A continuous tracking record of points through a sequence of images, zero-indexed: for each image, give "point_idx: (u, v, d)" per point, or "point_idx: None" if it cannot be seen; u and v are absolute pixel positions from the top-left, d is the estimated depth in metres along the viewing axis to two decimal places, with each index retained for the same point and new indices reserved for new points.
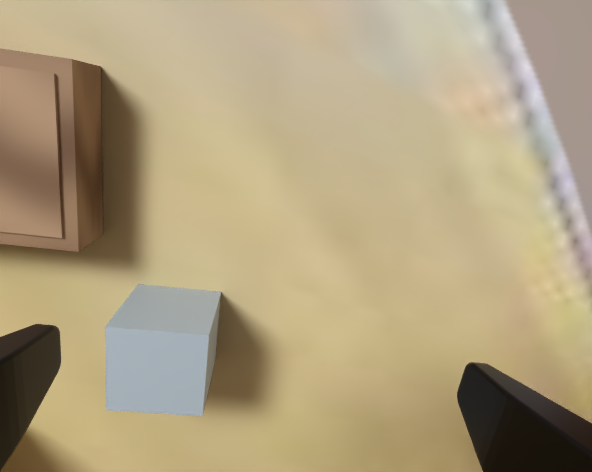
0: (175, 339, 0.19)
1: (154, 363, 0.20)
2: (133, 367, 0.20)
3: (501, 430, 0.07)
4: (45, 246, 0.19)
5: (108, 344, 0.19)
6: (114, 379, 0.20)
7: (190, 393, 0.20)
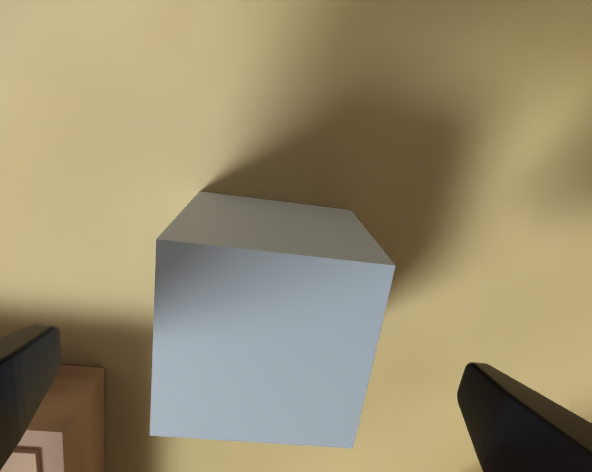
0: (171, 311, 0.08)
1: (239, 357, 0.09)
2: (247, 396, 0.09)
3: (501, 430, 0.07)
4: None
5: (191, 433, 0.09)
6: (277, 429, 0.09)
7: (324, 289, 0.08)
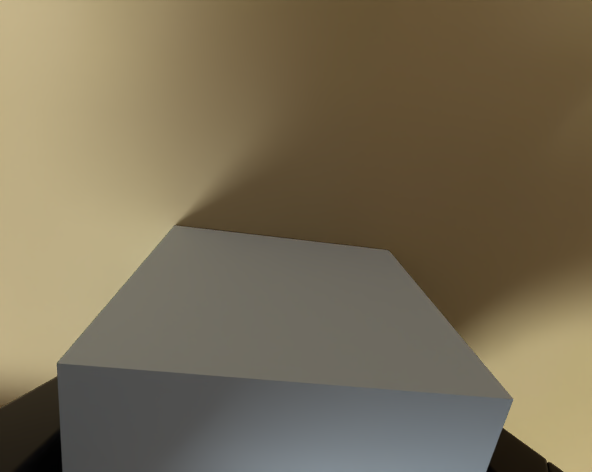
0: None
1: None
2: None
3: None
4: None
5: None
6: None
7: (379, 440, 0.05)
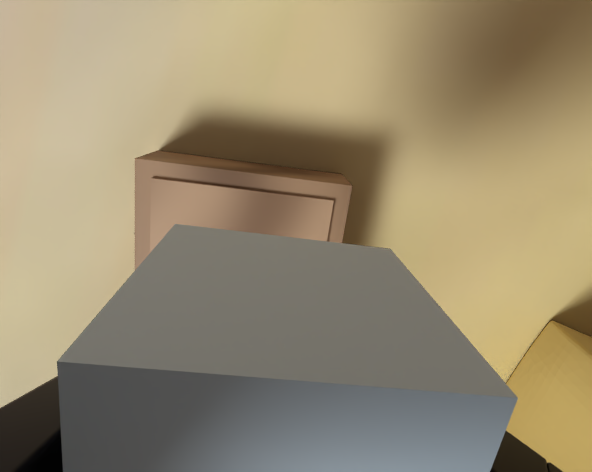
0: None
1: None
2: None
3: None
4: (343, 221, 0.17)
5: None
6: None
7: (384, 439, 0.04)
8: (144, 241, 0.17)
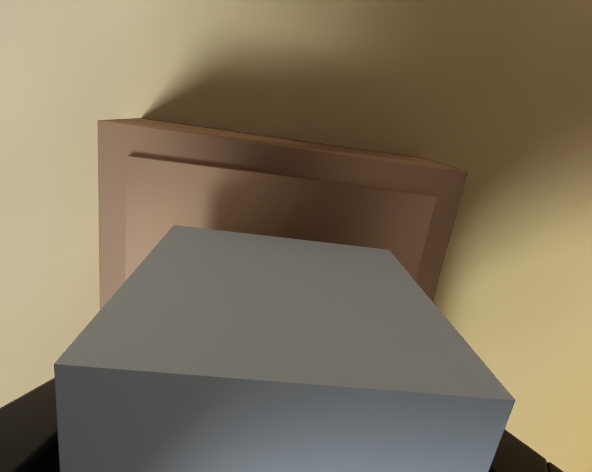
0: None
1: None
2: None
3: None
4: (447, 231, 0.10)
5: None
6: None
7: (380, 441, 0.04)
8: (115, 265, 0.10)
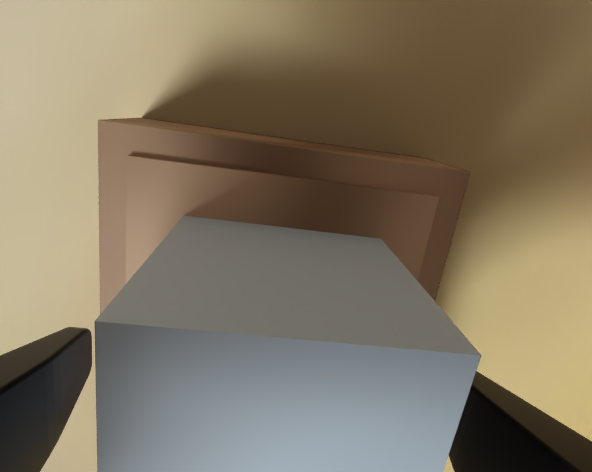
0: (124, 428, 0.05)
1: None
2: None
3: (470, 428, 0.07)
4: (449, 231, 0.10)
5: None
6: None
7: (368, 391, 0.05)
8: (116, 265, 0.10)
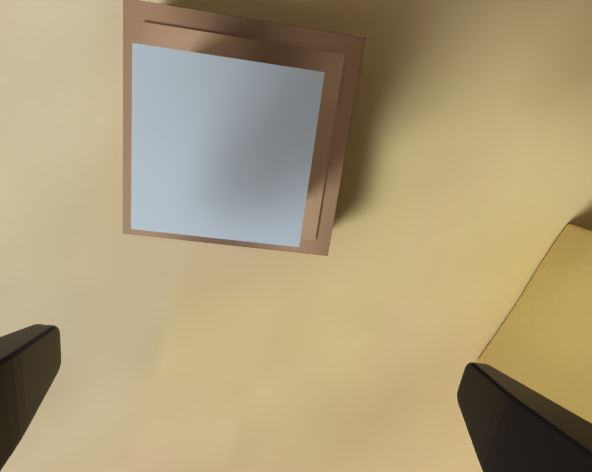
0: (145, 110, 0.10)
1: (202, 155, 0.11)
2: (210, 193, 0.11)
3: (501, 430, 0.07)
4: (355, 81, 0.15)
5: (165, 228, 0.11)
6: (236, 227, 0.12)
7: (268, 93, 0.10)
8: None
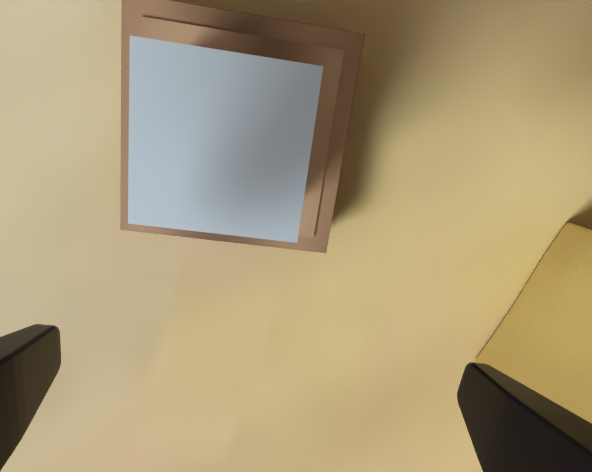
0: (142, 103, 0.10)
1: (199, 149, 0.11)
2: (207, 188, 0.11)
3: (501, 430, 0.07)
4: (354, 77, 0.15)
5: (162, 222, 0.11)
6: (233, 222, 0.11)
7: (266, 86, 0.10)
8: None
